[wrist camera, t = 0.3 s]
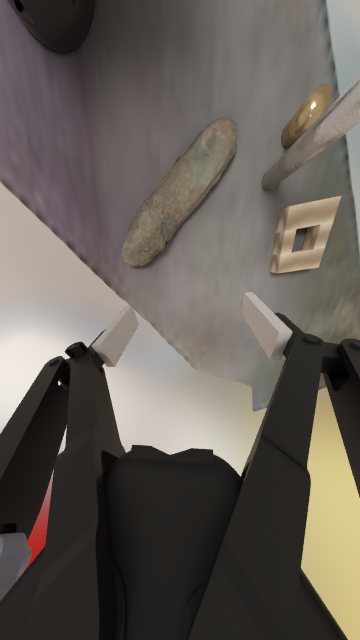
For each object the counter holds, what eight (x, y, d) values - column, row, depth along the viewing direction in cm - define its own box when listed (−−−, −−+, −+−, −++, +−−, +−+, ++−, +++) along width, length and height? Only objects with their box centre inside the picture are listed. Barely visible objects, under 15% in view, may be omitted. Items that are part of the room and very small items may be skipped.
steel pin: (262, 170, 28) (396, 26, 10) (279, 166, 27) (450, 8, 10) (260, 192, 29) (372, 99, 12) (276, 188, 29) (418, 87, 11)
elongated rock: (242, 164, 29) (214, 115, 26) (253, 143, 24) (221, 81, 21) (143, 276, 39) (116, 250, 37) (136, 278, 34) (105, 247, 32)
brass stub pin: (283, 123, 25) (309, 88, 19) (303, 118, 24) (335, 80, 19) (279, 150, 26) (303, 124, 21) (298, 145, 26) (326, 117, 21)
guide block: (279, 210, 31) (289, 206, 28) (325, 201, 30) (341, 195, 27) (269, 271, 37) (277, 273, 34) (307, 266, 36) (318, 267, 33)
